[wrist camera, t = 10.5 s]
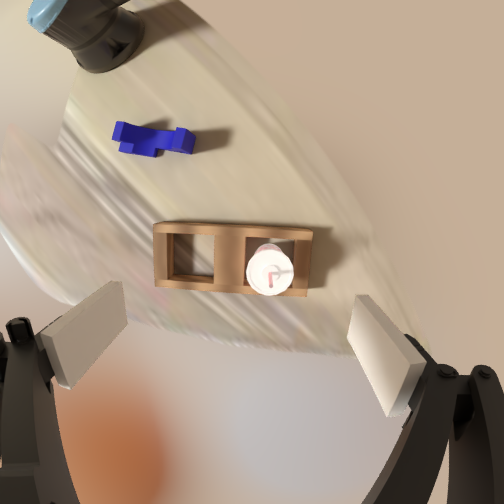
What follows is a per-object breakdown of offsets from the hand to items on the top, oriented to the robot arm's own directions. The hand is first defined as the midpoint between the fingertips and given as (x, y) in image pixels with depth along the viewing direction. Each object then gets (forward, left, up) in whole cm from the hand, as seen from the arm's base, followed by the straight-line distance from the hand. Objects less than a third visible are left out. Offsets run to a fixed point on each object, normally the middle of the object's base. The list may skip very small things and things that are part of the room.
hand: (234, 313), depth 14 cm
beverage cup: (+3, +3, -30) cm, 30 cm away
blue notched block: (-14, -16, -30) cm, 37 cm away
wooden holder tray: (+4, -3, -29) cm, 30 cm away
